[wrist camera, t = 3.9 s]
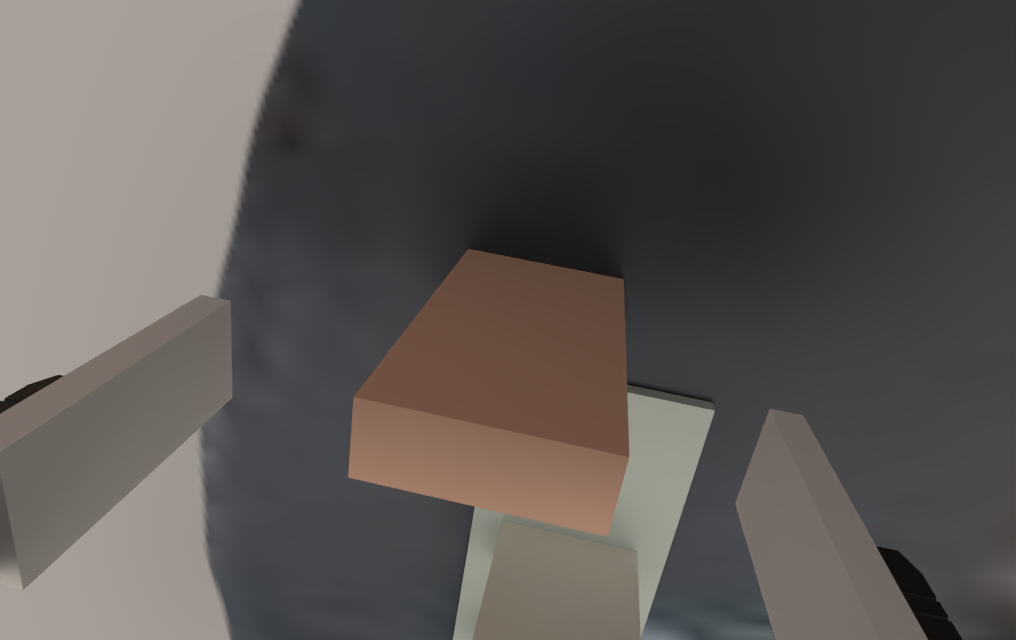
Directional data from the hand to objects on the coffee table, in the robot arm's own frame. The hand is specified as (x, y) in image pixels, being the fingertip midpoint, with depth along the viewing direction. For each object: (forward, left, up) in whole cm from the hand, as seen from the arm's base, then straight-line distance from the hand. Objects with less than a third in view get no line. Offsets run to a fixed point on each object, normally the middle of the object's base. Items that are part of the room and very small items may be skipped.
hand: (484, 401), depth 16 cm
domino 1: (0, 0, -8) cm, 8 cm away
